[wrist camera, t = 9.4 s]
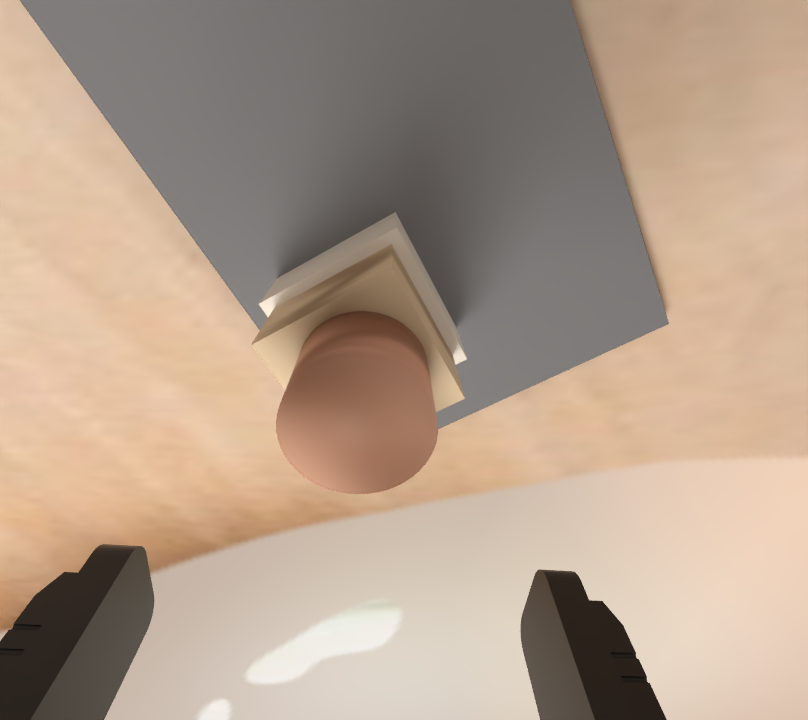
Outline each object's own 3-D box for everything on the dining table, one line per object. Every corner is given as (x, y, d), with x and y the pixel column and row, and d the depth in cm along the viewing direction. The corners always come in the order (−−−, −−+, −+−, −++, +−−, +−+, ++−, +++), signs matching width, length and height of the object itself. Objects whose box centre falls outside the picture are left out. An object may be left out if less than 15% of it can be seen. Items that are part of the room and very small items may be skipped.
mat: (448, -356, 16) (452, -383, 16) (659, 317, 28) (668, 323, 27) (18, -18, 20) (2, -25, 19) (359, 455, 31) (358, 465, 30)
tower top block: (391, 243, 20) (392, 268, 17) (452, 355, 23) (464, 398, 19) (273, 308, 21) (250, 345, 18) (344, 408, 24) (336, 458, 20)
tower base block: (395, 211, 24) (396, 227, 20) (456, 327, 26) (467, 359, 23) (276, 278, 25) (258, 303, 21) (346, 381, 28) (341, 419, 24)
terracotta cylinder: (388, 287, 17) (388, 330, 13) (449, 393, 19) (464, 456, 15) (271, 349, 18) (243, 405, 14) (342, 444, 20) (332, 514, 16)
